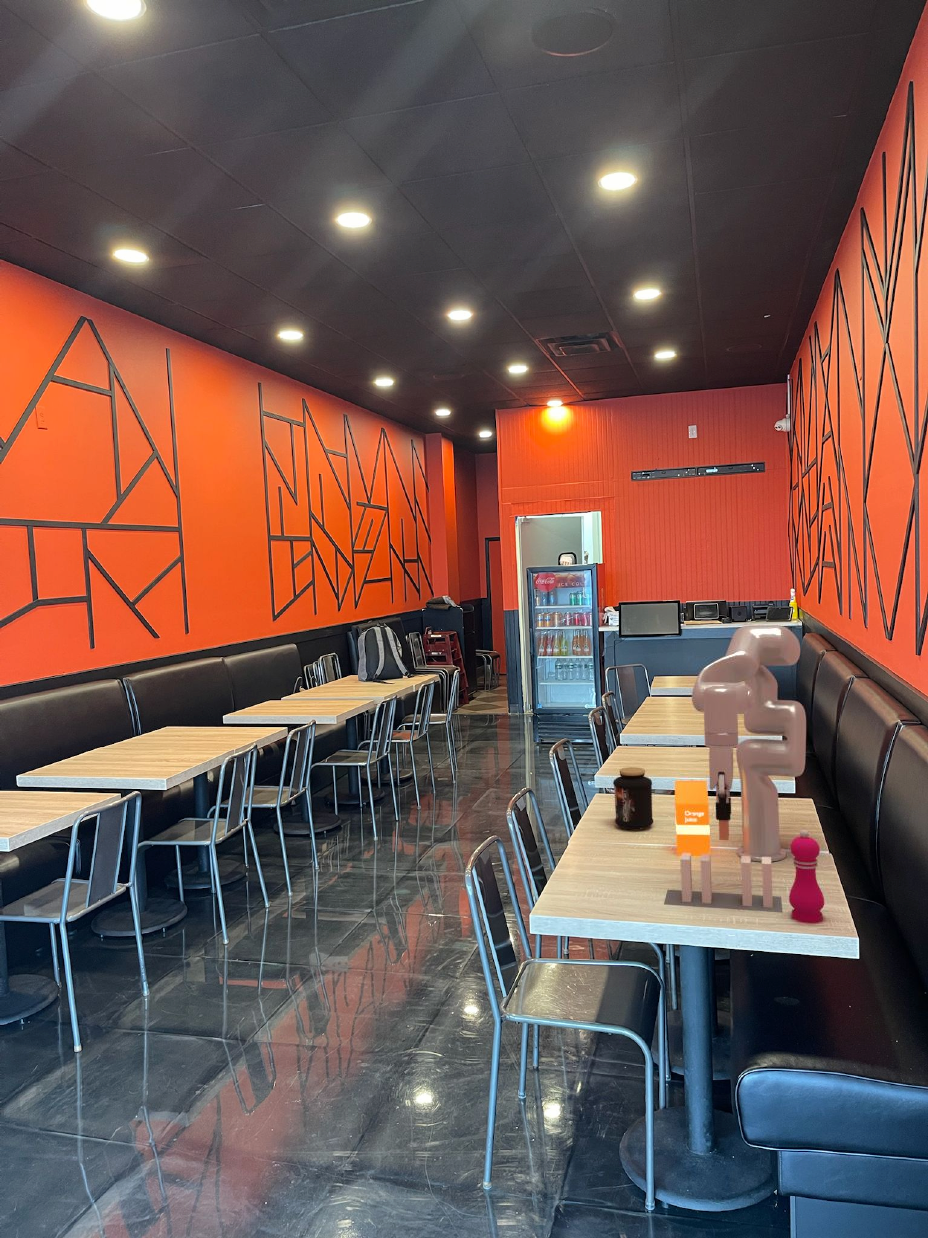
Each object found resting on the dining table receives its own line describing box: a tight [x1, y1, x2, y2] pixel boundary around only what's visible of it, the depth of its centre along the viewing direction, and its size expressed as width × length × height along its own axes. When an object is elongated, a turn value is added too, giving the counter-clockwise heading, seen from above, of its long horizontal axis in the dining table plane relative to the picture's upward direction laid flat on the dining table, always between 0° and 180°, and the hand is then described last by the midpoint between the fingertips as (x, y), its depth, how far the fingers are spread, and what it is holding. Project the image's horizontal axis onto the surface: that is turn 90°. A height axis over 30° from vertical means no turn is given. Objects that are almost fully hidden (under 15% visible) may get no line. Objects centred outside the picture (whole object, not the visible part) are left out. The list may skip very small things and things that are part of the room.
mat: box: [663, 889, 784, 913], centre depth 203 cm, size 10×26×1 cm, turn 72°
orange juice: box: [674, 780, 711, 857], centre depth 242 cm, size 8×9×20 cm
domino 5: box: [761, 857, 773, 908], centre depth 200 cm, size 2×5×10 cm, turn 162°
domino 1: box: [680, 853, 693, 902], centre depth 206 cm, size 2×5×10 cm, turn 162°
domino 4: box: [740, 856, 753, 906], centre depth 201 cm, size 2×5×10 cm, turn 162°
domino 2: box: [700, 853, 713, 903], centre depth 204 cm, size 2×5×10 cm, turn 162°
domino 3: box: [718, 792, 730, 841], centre depth 204 cm, size 2×5×10 cm, turn 162°
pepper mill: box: [788, 829, 825, 924], centre depth 191 cm, size 7×7×20 cm
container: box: [612, 766, 654, 831], centre depth 269 cm, size 12×12×18 cm
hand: (723, 816), depth 204 cm, fingers closed on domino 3, 4 cm apart
